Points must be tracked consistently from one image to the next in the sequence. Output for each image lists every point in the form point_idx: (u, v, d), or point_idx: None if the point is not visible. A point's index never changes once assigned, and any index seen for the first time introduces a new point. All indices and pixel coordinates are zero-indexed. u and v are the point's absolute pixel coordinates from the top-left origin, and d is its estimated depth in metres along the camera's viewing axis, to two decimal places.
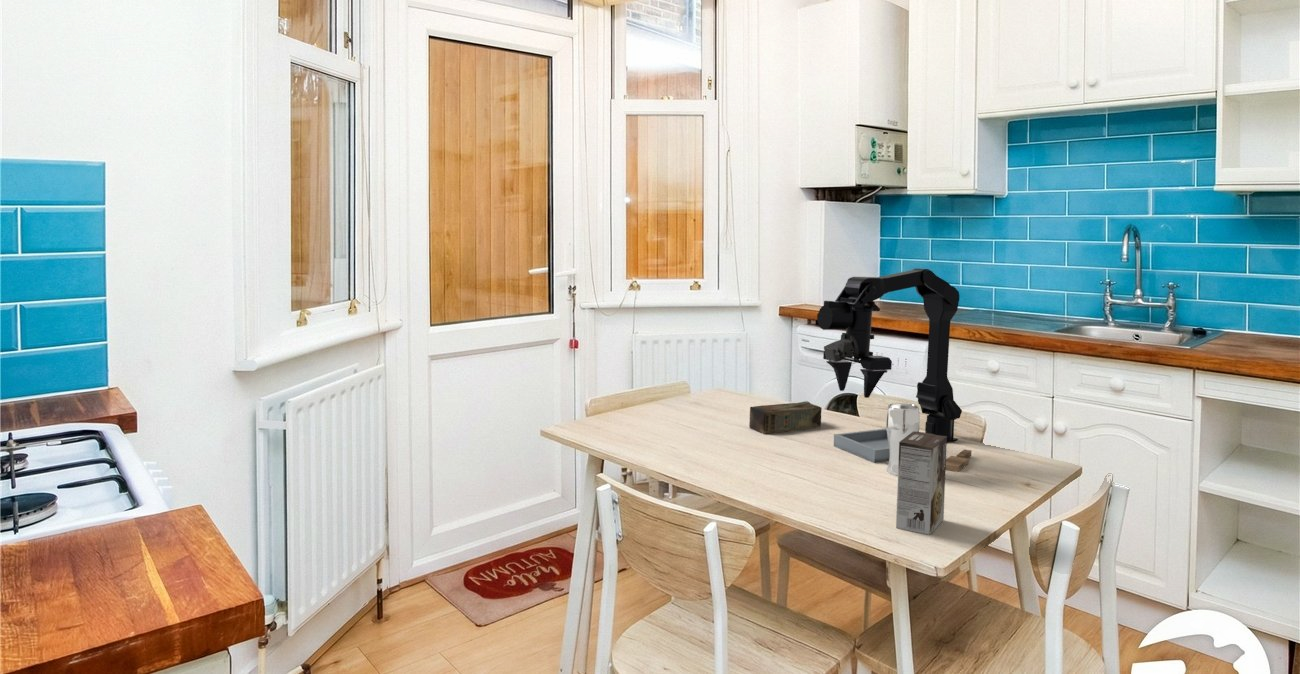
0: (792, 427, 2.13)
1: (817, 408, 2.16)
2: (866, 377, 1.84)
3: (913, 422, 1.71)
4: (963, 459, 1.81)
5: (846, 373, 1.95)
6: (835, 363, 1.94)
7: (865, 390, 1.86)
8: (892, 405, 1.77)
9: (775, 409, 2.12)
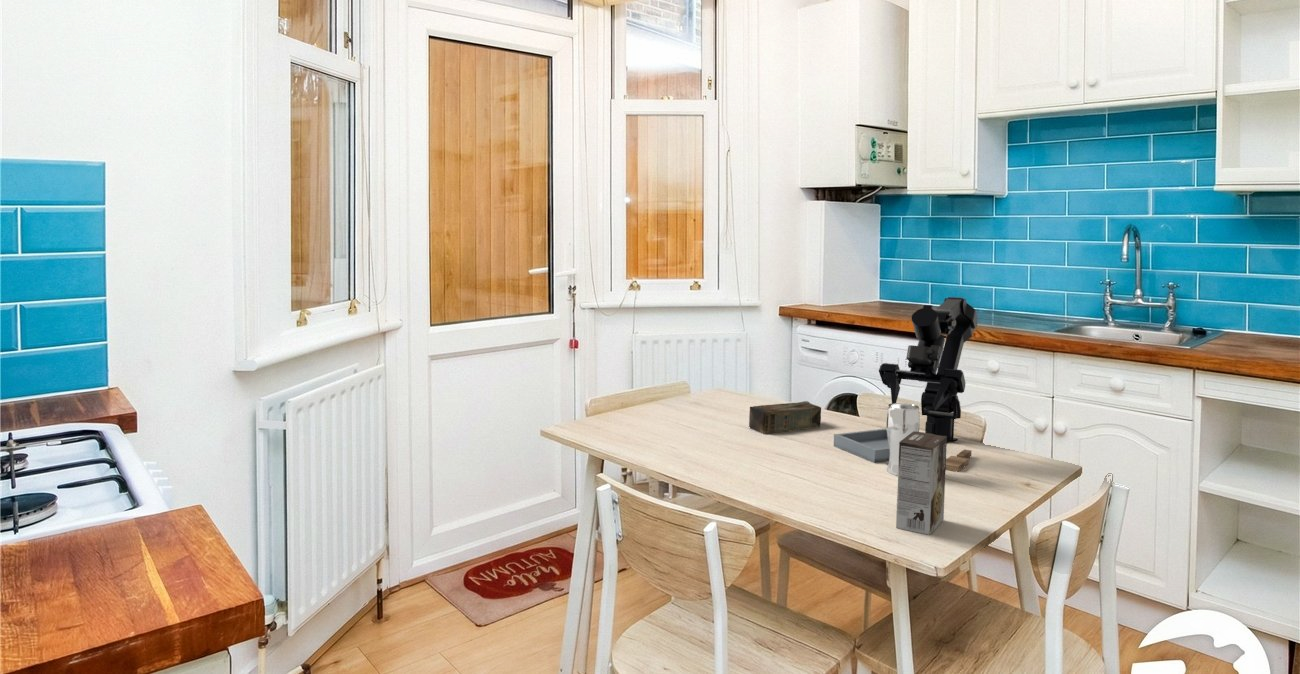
0: (791, 427, 2.13)
1: (817, 408, 2.16)
2: (943, 388, 1.79)
3: (913, 422, 1.71)
4: (963, 459, 1.81)
5: (897, 392, 1.86)
6: (895, 376, 1.85)
7: (937, 401, 1.78)
8: (892, 405, 1.77)
9: (775, 409, 2.12)
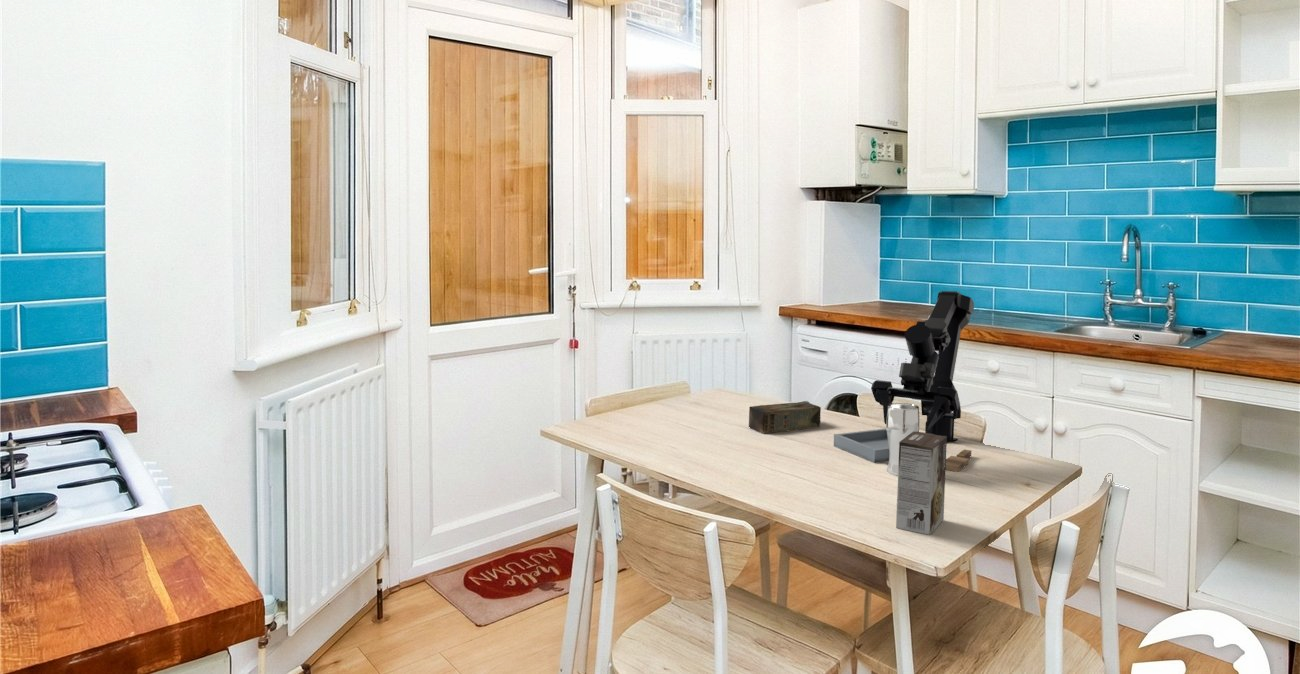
0: (791, 426, 2.13)
1: (816, 408, 2.16)
2: (936, 406, 1.75)
3: (913, 422, 1.71)
4: (963, 459, 1.81)
5: None
6: (888, 393, 1.82)
7: (930, 420, 1.74)
8: (892, 405, 1.77)
9: (774, 409, 2.12)
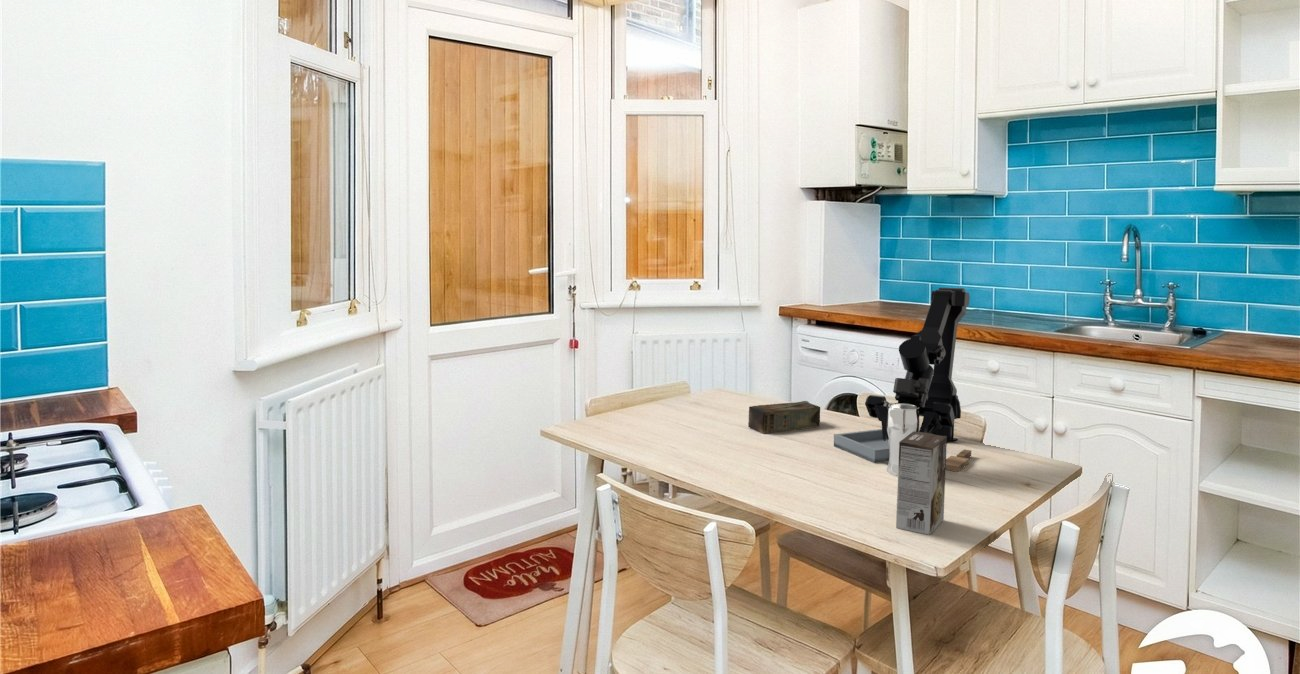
0: (791, 426, 2.14)
1: (816, 408, 2.17)
2: (926, 422, 1.73)
3: (913, 422, 1.71)
4: (963, 459, 1.81)
5: None
6: (887, 409, 1.78)
7: None
8: (892, 405, 1.77)
9: (774, 409, 2.12)
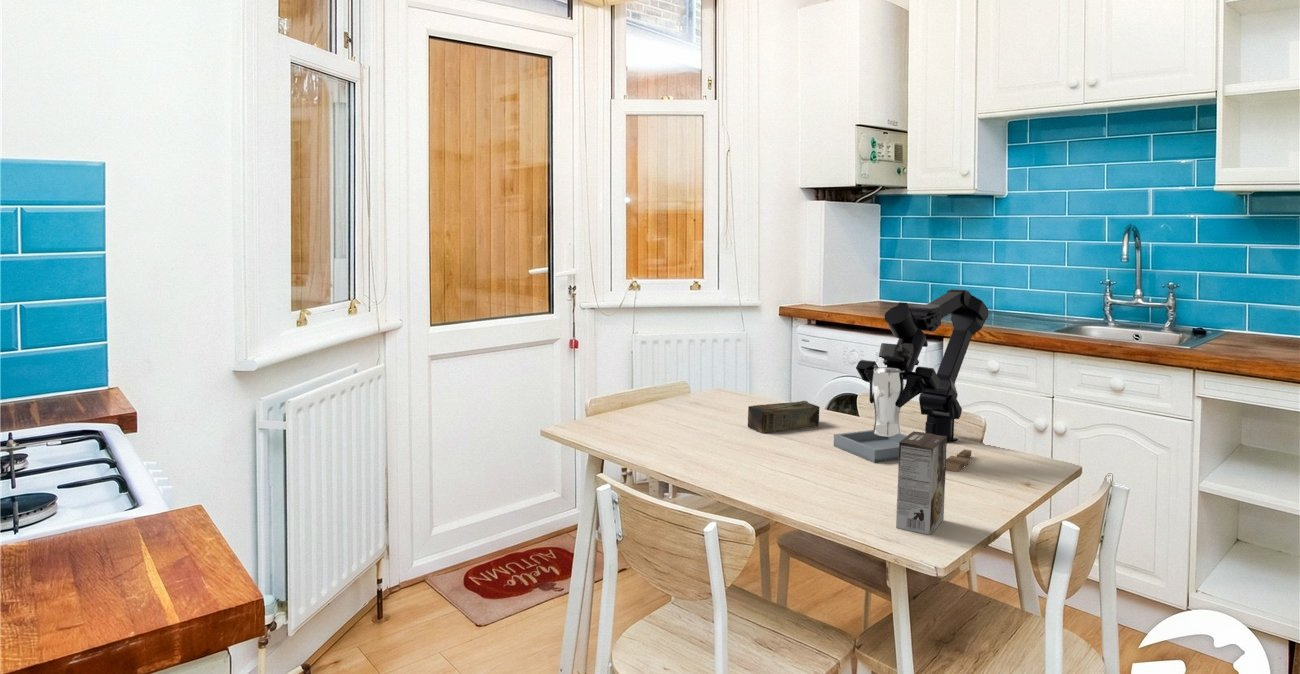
0: (790, 426, 2.14)
1: (815, 407, 2.17)
2: (909, 385, 1.80)
3: (895, 385, 1.79)
4: (963, 459, 1.81)
5: None
6: None
7: (902, 398, 1.80)
8: (879, 369, 1.85)
9: (773, 408, 2.13)
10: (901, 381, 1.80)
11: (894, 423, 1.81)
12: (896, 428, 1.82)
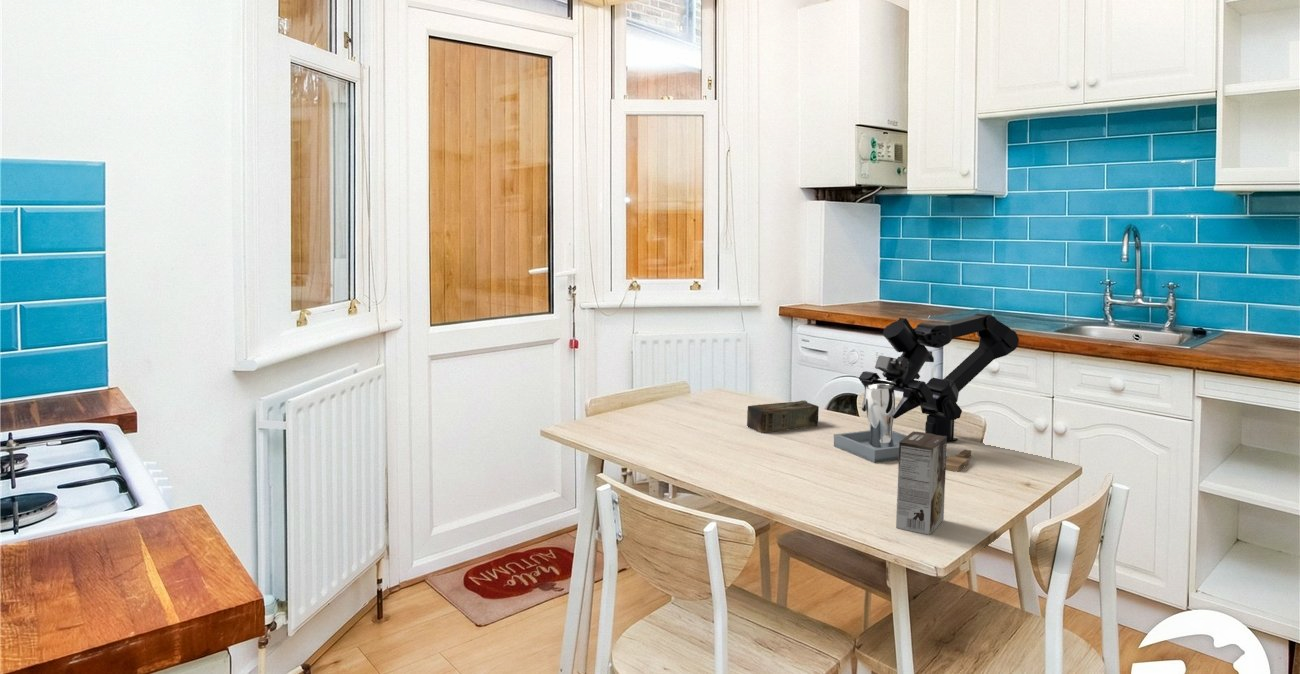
0: (789, 426, 2.14)
1: (814, 407, 2.17)
2: (905, 398, 1.87)
3: (884, 400, 1.89)
4: (963, 459, 1.81)
5: None
6: (871, 383, 1.97)
7: (897, 409, 1.87)
8: (873, 385, 1.95)
9: (772, 408, 2.13)
10: (890, 397, 1.89)
11: (886, 436, 1.91)
12: (888, 441, 1.91)
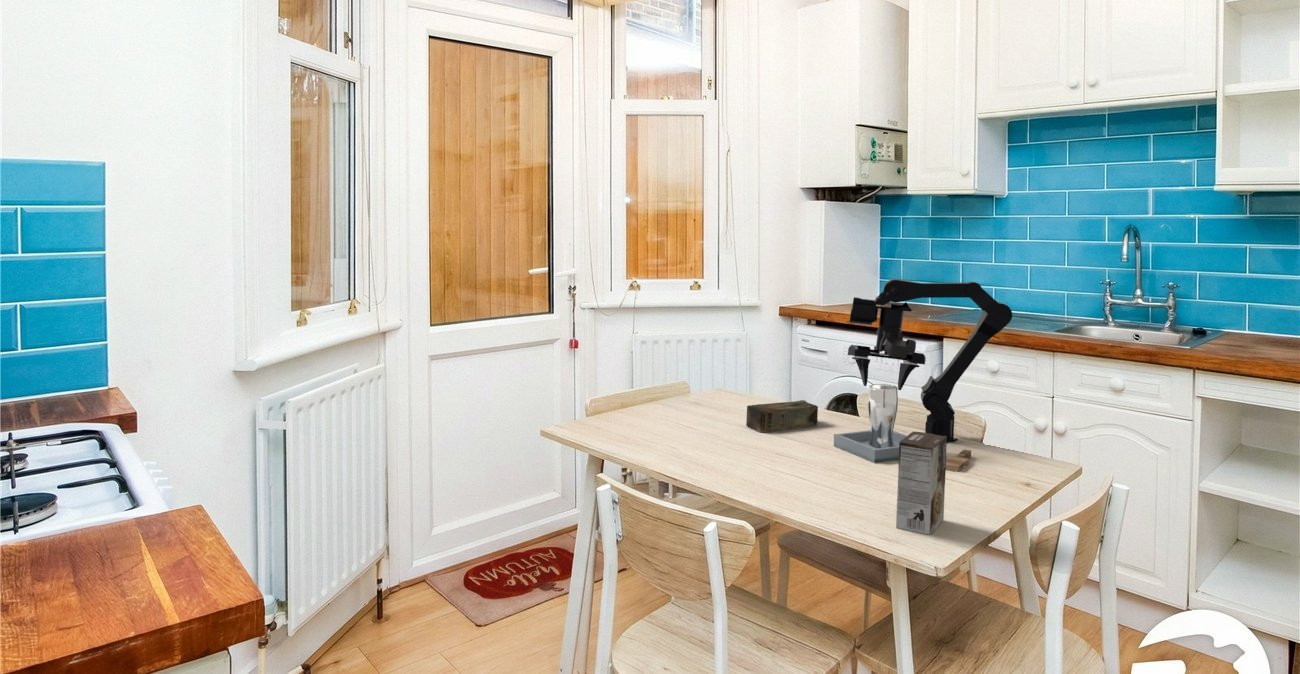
0: (788, 425, 2.15)
1: (813, 407, 2.18)
2: (908, 371, 2.02)
3: (887, 401, 1.89)
4: (963, 459, 1.81)
5: None
6: None
7: (903, 383, 2.03)
8: (877, 386, 1.95)
9: (772, 408, 2.13)
10: (894, 398, 1.89)
11: (886, 437, 1.91)
12: (888, 442, 1.91)
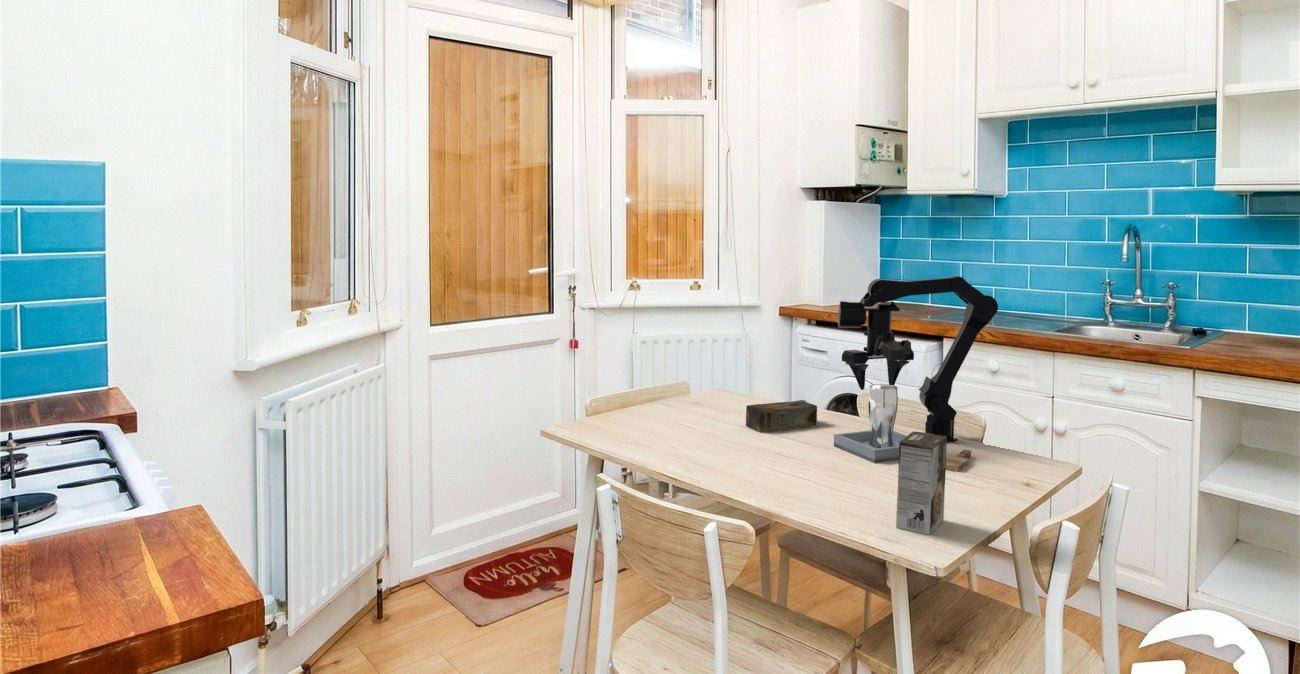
0: (788, 425, 2.15)
1: (813, 407, 2.18)
2: (899, 368, 2.05)
3: (887, 401, 1.89)
4: (963, 459, 1.81)
5: None
6: None
7: (895, 380, 2.05)
8: (877, 386, 1.95)
9: (771, 408, 2.14)
10: (894, 398, 1.89)
11: (886, 437, 1.91)
12: (888, 442, 1.91)
